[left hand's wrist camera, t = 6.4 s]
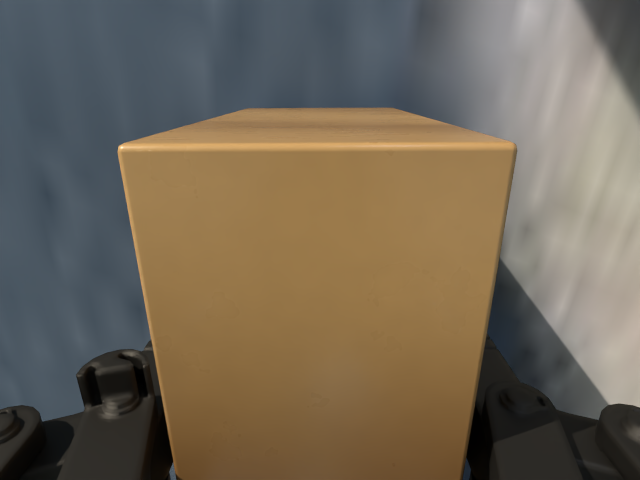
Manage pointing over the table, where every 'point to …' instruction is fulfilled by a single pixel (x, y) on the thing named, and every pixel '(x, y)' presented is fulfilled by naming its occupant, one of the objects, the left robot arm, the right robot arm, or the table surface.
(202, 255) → the bar
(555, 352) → the table surface
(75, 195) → the table surface
